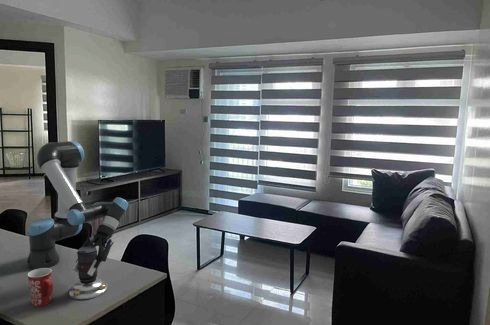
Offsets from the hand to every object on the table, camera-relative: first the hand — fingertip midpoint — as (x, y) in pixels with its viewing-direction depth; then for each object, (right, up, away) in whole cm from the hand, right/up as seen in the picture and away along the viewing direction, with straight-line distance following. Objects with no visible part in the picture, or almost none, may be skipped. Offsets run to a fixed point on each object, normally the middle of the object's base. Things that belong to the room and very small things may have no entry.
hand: (82, 272), depth 159 cm
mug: (-13, -11, -7) cm, 19 cm away
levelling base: (+1, -10, +4) cm, 11 cm away
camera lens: (+1, -5, +4) cm, 6 cm away
